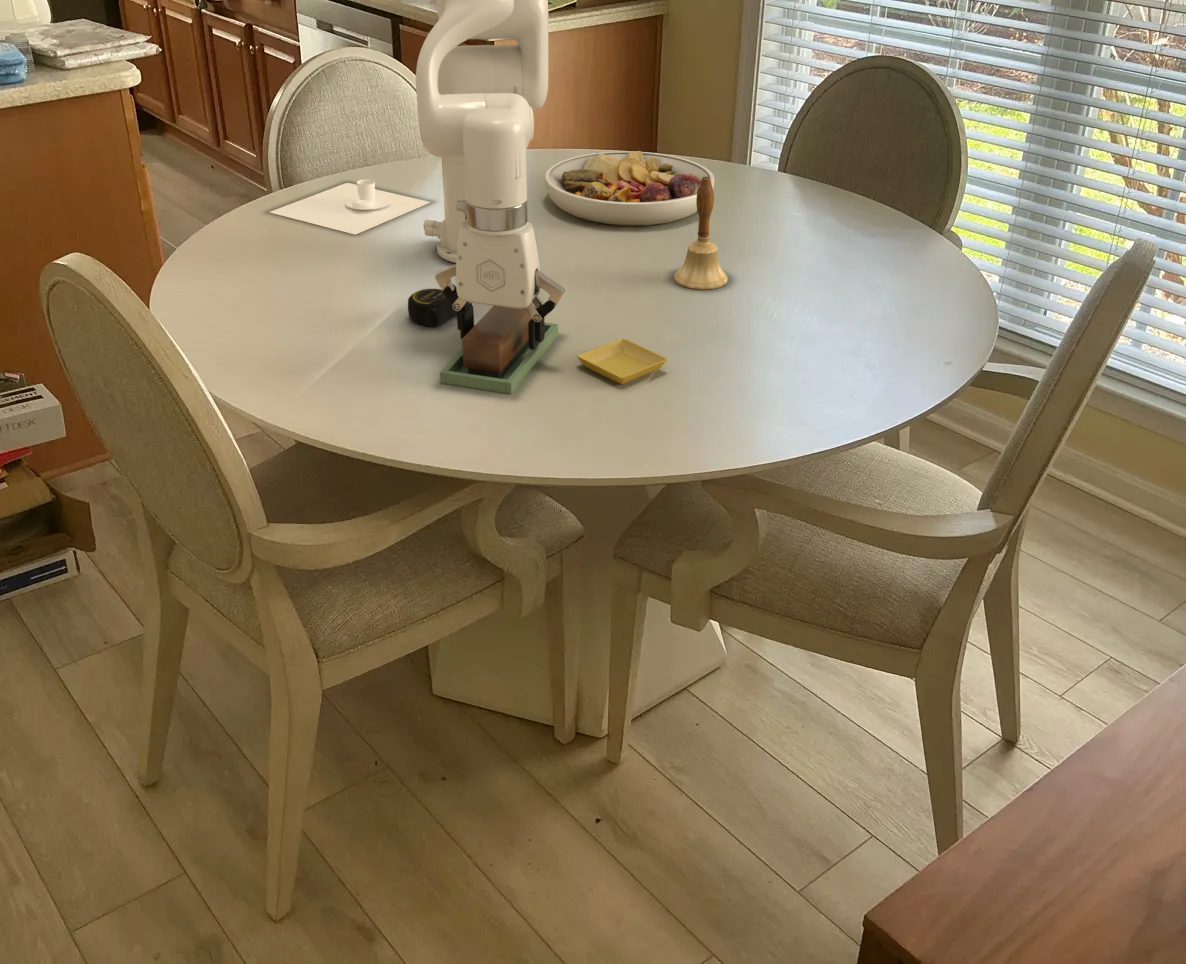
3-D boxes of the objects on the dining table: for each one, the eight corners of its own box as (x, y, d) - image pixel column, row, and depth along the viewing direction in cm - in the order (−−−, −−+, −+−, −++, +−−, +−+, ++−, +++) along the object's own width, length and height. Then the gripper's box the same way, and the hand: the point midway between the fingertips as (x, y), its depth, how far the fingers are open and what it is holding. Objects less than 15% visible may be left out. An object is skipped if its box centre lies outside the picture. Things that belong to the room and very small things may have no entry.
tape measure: (436, 335, 160) (435, 310, 158) (398, 323, 163) (396, 298, 161) (467, 318, 165) (466, 293, 163) (430, 307, 168) (428, 283, 166)
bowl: (510, 204, 206) (509, 161, 202) (617, 167, 226) (618, 126, 222) (642, 245, 190) (643, 198, 186) (745, 201, 210) (748, 158, 205)
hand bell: (724, 292, 174) (732, 187, 165) (670, 287, 175) (675, 183, 167) (730, 271, 181) (738, 170, 172) (677, 267, 182) (682, 166, 174)
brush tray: (440, 386, 147) (439, 372, 146) (493, 328, 162) (492, 314, 161) (511, 397, 145) (511, 383, 144) (558, 337, 160) (558, 323, 159)
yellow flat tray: (622, 350, 156) (623, 336, 155) (668, 372, 151) (669, 358, 150) (575, 369, 151) (575, 355, 150) (621, 392, 146) (621, 378, 145)
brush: (464, 378, 148) (461, 338, 145) (502, 334, 159) (501, 296, 156) (500, 383, 147) (499, 344, 144) (537, 338, 158) (536, 301, 155)
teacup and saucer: (367, 216, 200) (364, 193, 198) (332, 208, 204) (330, 185, 202) (400, 202, 207) (398, 180, 204) (366, 194, 210) (364, 172, 208)
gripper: (419, 216, 142) (428, 343, 151) (553, 232, 138) (554, 362, 147) (444, 197, 148) (451, 320, 157) (573, 211, 144) (572, 337, 153)
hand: (501, 340), depth 152 cm, fingers open, 9 cm apart
